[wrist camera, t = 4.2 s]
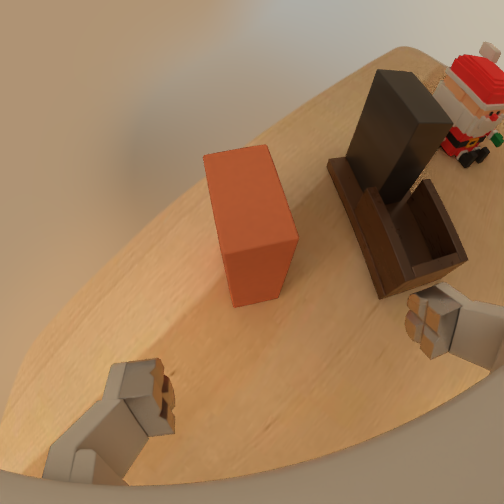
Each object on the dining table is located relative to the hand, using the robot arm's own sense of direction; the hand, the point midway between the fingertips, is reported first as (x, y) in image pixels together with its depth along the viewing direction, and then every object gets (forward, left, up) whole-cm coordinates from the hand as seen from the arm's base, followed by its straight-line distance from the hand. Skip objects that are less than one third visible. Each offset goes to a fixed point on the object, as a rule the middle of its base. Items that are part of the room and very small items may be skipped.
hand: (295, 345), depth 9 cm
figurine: (+5, +29, -10) cm, 31 cm away
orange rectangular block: (-5, +4, -10) cm, 12 cm away
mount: (+2, +14, -10) cm, 17 cm away
